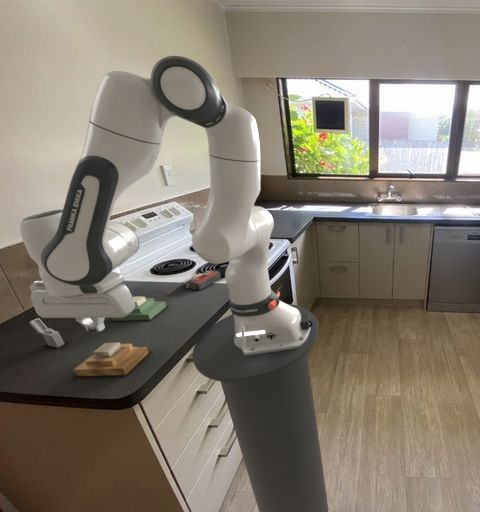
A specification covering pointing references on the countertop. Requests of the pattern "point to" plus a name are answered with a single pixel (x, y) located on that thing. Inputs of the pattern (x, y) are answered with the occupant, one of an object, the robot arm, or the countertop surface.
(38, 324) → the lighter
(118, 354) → the key block
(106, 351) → the near key
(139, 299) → the far key
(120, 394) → the countertop surface
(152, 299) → the key block
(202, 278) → the walkie-talkie
